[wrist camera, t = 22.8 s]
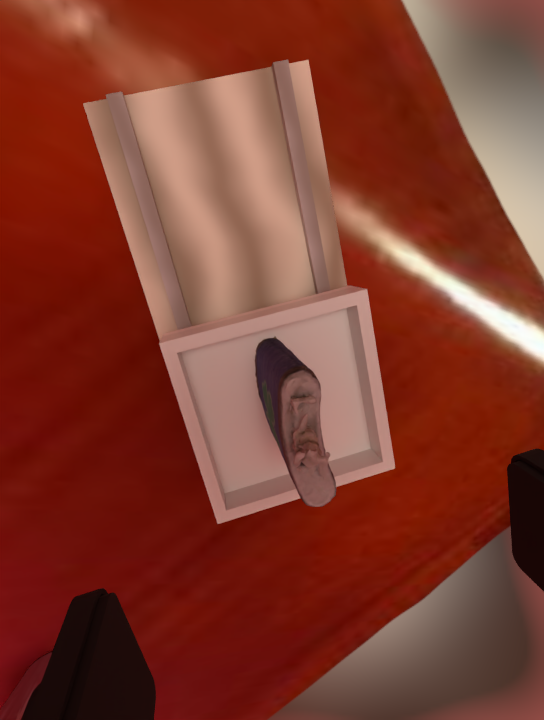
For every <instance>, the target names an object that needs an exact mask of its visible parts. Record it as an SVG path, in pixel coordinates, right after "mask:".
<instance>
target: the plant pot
mask: <svg viewBox="0 0 544 720" xmlns="http://www.w3.org/2000/svg"><path fill="white" fill-rule="evenodd" d="M51 654H52V652H50V653H48V654H46V655H44V656H42V657H41V658H39V659H38V660H36V661H35V662H34V663H33V664H32V665H31V666H30V667H29V668H28V670H27V671H26V673H25V674H24V676H23V677H22V679H21V680H20V682H19V683H18V685H17V686H16V688H15V689H14V690H13V692H12V693H11V695H10V696H9V698H8V699H7V701H6V702H5V704H4V705H3V707H2V708H1V710H0V720H21V718H22V716H23V713H24V711H25V708H26V705H27V703H28V700H29V698H30V696H31V694H32V692H33V690H34V689H35V688H36V687H37V686H38V685H39V684H40V683H41V681H42V679H43V676H44V673H45V670H46V668H47V665H48V662H49V660H50V657H51Z"/></svg>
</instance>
